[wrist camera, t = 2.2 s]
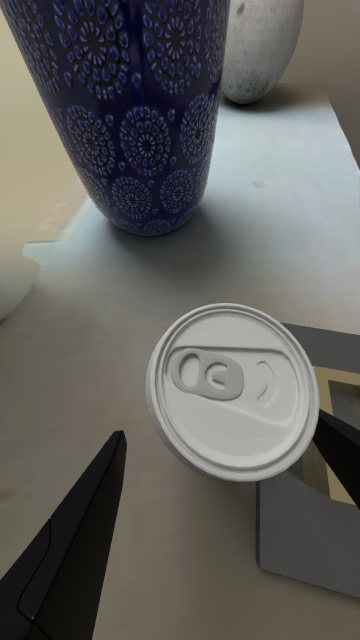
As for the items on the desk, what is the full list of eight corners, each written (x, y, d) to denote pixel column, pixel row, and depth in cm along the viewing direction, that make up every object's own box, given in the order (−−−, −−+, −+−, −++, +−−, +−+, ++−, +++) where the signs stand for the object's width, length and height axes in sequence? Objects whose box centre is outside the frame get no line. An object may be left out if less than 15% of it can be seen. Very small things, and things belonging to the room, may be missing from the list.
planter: (205, 184, 35) (230, -63, 17) (206, 253, 27) (255, -74, 9) (112, 182, 36) (38, -56, 18) (86, 250, 28) (-102, -59, 10)
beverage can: (224, 378, 19) (318, 308, 6) (219, 434, 17) (353, 529, 4) (176, 369, 20) (163, 285, 6) (166, 422, 18) (111, 466, 4)
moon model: (281, 117, 49) (338, -54, 31) (206, 115, 50) (219, -50, 32) (274, 91, 57) (315, -54, 39) (210, 90, 59) (222, -51, 41)
